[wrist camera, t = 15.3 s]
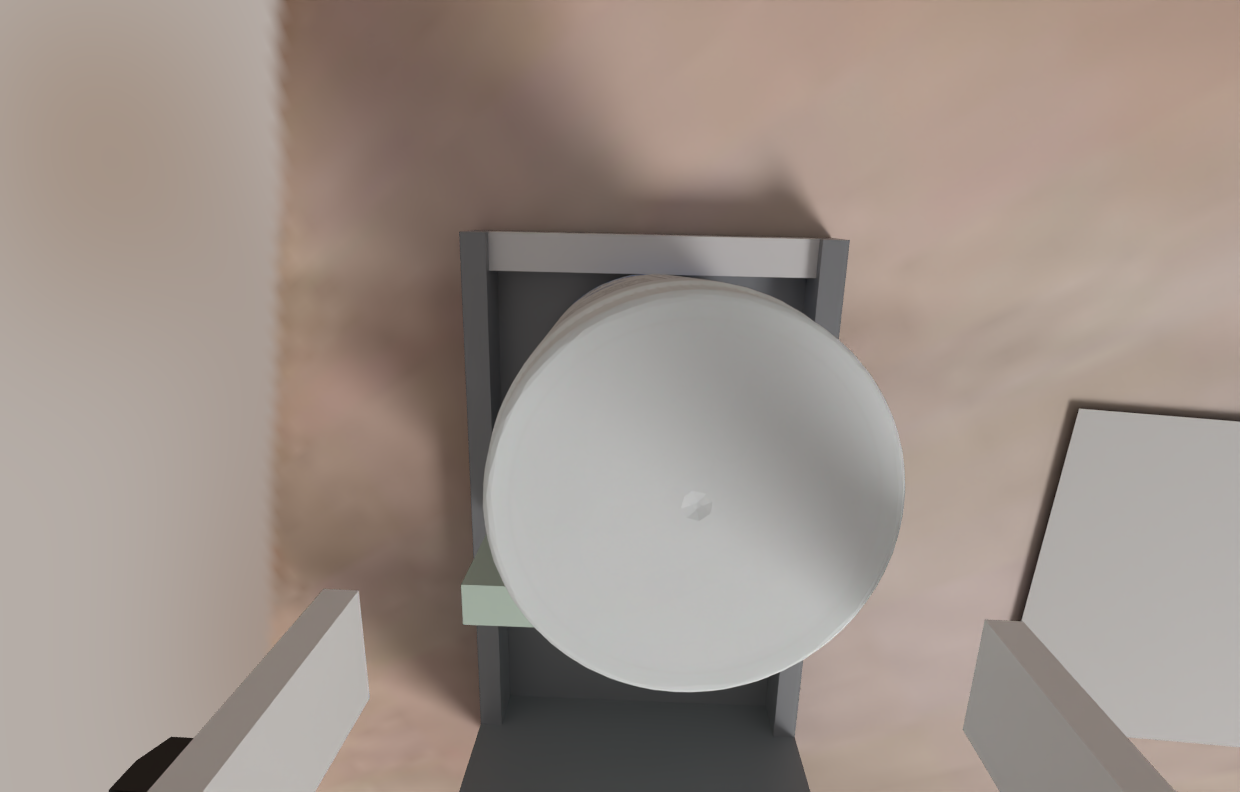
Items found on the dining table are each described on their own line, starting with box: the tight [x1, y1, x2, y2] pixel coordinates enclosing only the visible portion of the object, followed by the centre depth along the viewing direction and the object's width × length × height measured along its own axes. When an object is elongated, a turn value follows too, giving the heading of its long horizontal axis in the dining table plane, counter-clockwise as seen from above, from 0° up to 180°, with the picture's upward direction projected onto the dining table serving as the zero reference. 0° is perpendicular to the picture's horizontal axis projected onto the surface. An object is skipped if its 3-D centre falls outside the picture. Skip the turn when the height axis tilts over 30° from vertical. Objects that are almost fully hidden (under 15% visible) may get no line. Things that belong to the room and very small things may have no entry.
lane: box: [459, 230, 850, 792], centre depth 25 cm, size 26×15×12 cm, turn 179°
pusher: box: [461, 534, 534, 627], centre depth 26 cm, size 2×12×9 cm, turn 89°
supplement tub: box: [483, 274, 905, 692], centre depth 21 cm, size 10×10×15 cm
